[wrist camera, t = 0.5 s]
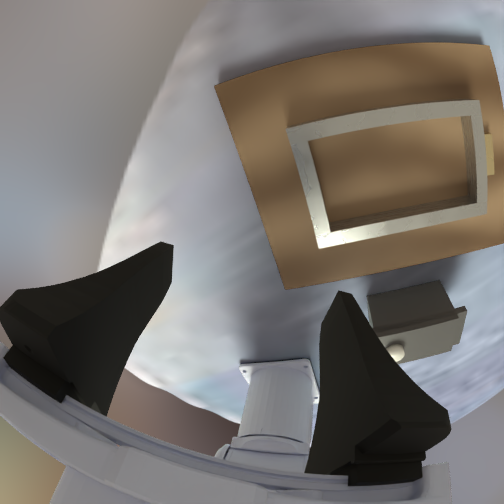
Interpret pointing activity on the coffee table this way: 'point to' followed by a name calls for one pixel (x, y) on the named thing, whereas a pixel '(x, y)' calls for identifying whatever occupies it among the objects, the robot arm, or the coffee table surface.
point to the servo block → (416, 321)
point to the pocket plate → (372, 157)
